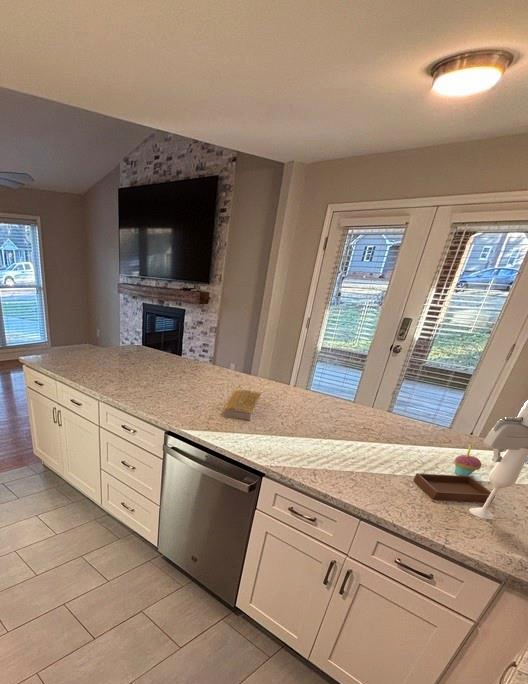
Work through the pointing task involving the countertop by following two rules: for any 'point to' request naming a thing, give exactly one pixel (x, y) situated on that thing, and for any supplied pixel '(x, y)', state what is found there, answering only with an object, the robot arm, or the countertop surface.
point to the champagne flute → (503, 477)
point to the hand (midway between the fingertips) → (511, 462)
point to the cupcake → (466, 464)
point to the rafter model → (241, 404)
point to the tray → (452, 487)
